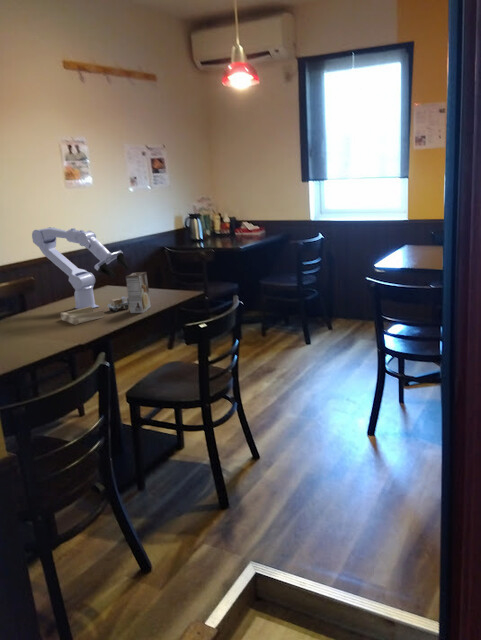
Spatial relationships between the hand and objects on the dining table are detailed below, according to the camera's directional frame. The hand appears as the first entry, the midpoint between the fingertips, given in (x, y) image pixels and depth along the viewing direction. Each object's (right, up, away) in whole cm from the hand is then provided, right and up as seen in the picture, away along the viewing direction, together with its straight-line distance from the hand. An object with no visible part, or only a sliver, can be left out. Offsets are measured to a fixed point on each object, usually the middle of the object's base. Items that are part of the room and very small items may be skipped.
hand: (121, 272), depth 241 cm
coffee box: (+8, -16, +2) cm, 18 cm away
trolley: (-3, -16, +6) cm, 17 cm away
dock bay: (-15, -20, -4) cm, 25 cm away
